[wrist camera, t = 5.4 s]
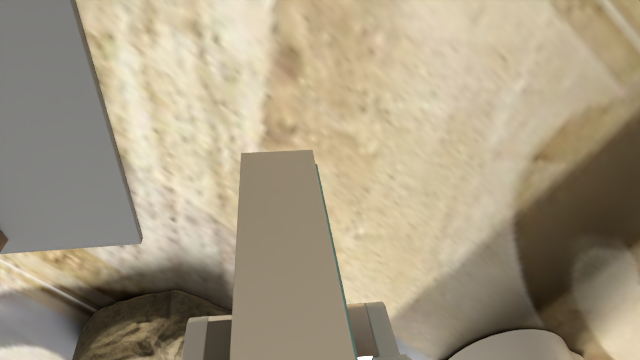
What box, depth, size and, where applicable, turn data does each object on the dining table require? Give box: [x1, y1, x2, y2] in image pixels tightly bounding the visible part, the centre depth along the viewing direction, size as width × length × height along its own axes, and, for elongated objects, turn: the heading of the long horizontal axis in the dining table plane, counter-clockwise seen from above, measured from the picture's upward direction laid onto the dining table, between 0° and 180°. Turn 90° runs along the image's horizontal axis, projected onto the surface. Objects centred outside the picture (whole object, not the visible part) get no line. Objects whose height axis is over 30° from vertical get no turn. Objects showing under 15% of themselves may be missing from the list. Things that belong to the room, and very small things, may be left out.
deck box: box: [230, 150, 358, 360], centre depth 11 cm, size 7×2×7 cm, turn 179°
